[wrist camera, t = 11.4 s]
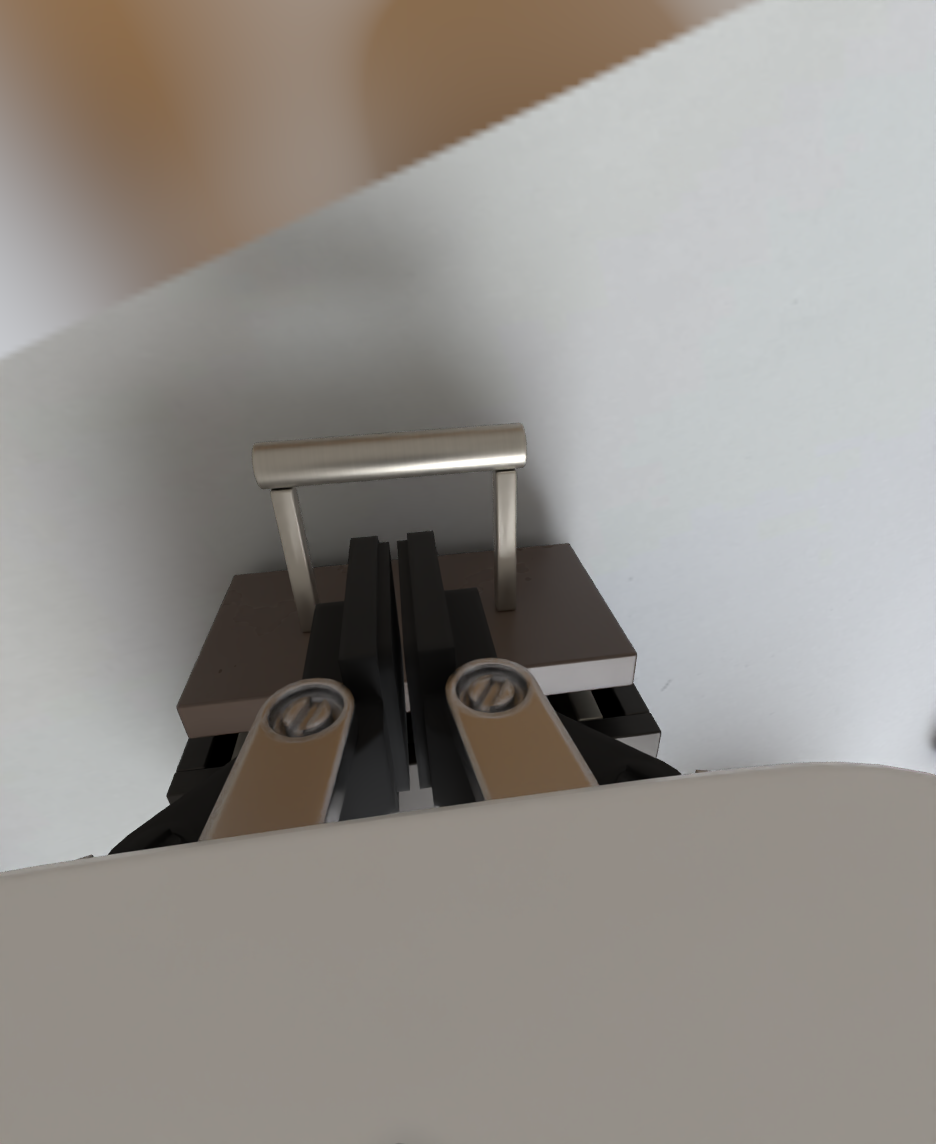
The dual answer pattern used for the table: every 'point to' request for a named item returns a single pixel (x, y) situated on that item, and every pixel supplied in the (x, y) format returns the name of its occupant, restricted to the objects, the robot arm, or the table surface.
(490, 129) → the table surface
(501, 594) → the drawer front with handle
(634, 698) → the dark wooden box
